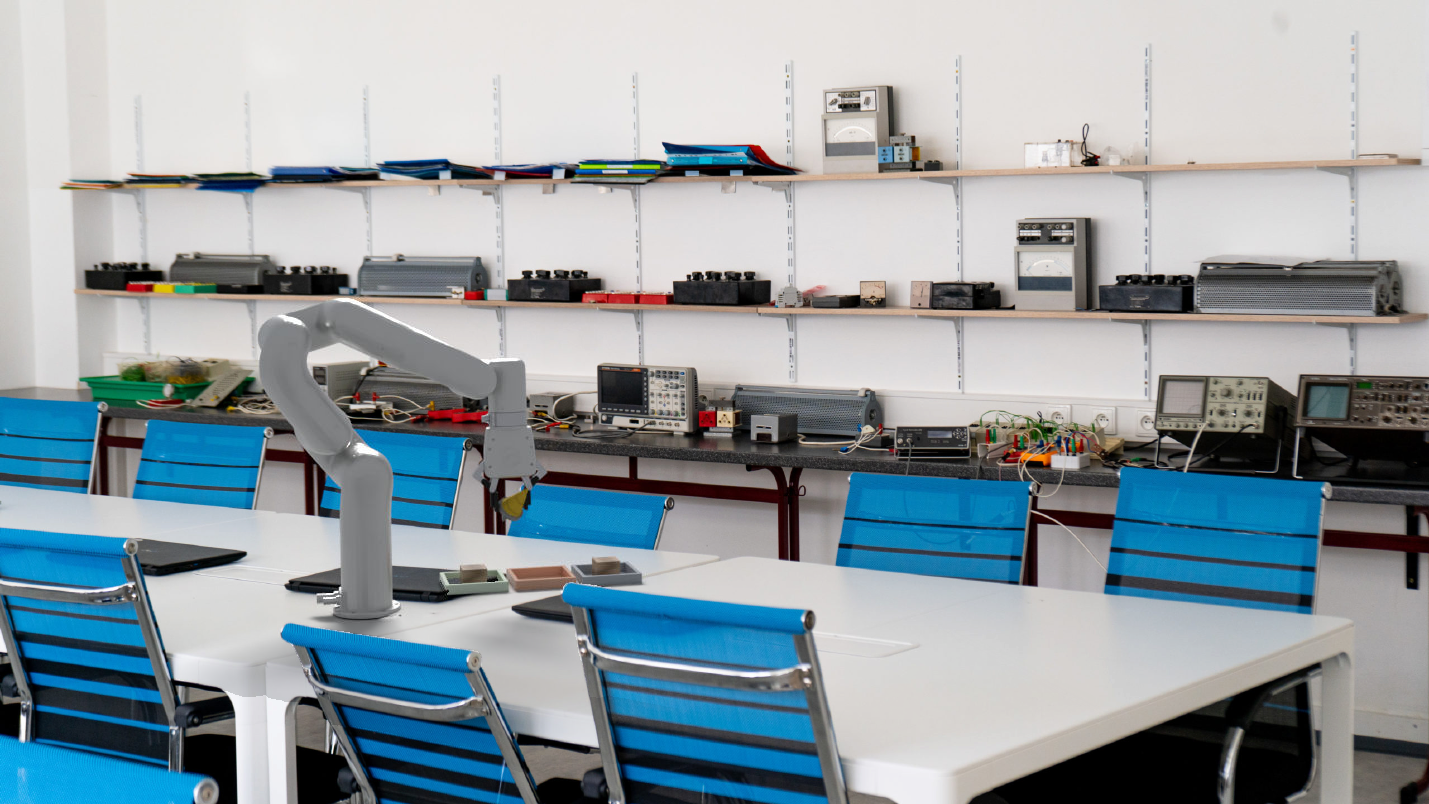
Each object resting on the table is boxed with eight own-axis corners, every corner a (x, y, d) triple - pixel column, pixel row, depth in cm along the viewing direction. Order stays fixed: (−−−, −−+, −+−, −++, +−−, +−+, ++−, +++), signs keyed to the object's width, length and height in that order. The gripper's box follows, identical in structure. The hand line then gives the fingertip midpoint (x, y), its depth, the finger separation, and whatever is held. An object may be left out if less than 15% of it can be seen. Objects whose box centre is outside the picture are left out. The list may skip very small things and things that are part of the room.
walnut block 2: (597, 581, 279) (596, 562, 278) (592, 576, 283) (591, 557, 283) (620, 579, 280) (620, 561, 280) (614, 574, 285) (614, 556, 284)
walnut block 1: (462, 589, 270) (462, 570, 270) (460, 584, 275) (459, 565, 275) (487, 587, 272) (487, 568, 271) (484, 582, 277) (484, 563, 276)
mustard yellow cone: (516, 518, 270) (542, 488, 265) (509, 534, 265) (536, 503, 261) (494, 504, 269) (520, 473, 264) (487, 519, 264) (513, 488, 259)
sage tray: (446, 597, 266) (445, 585, 265) (439, 584, 278) (439, 572, 277) (508, 593, 269) (508, 581, 269) (499, 580, 281) (499, 569, 281)
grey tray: (582, 588, 274) (582, 577, 274) (571, 576, 286) (571, 564, 286) (641, 585, 278) (641, 573, 277) (627, 572, 290) (627, 561, 289)
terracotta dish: (515, 593, 270) (515, 581, 270) (506, 580, 282) (506, 568, 282) (576, 589, 273) (576, 577, 273) (564, 576, 285) (564, 565, 285)
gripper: (466, 424, 257) (469, 516, 259) (553, 420, 262) (556, 510, 264) (462, 420, 265) (466, 509, 266) (547, 416, 269) (550, 504, 271)
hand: (510, 509), depth 265 cm, fingers closed on mustard yellow cone, 5 cm apart
